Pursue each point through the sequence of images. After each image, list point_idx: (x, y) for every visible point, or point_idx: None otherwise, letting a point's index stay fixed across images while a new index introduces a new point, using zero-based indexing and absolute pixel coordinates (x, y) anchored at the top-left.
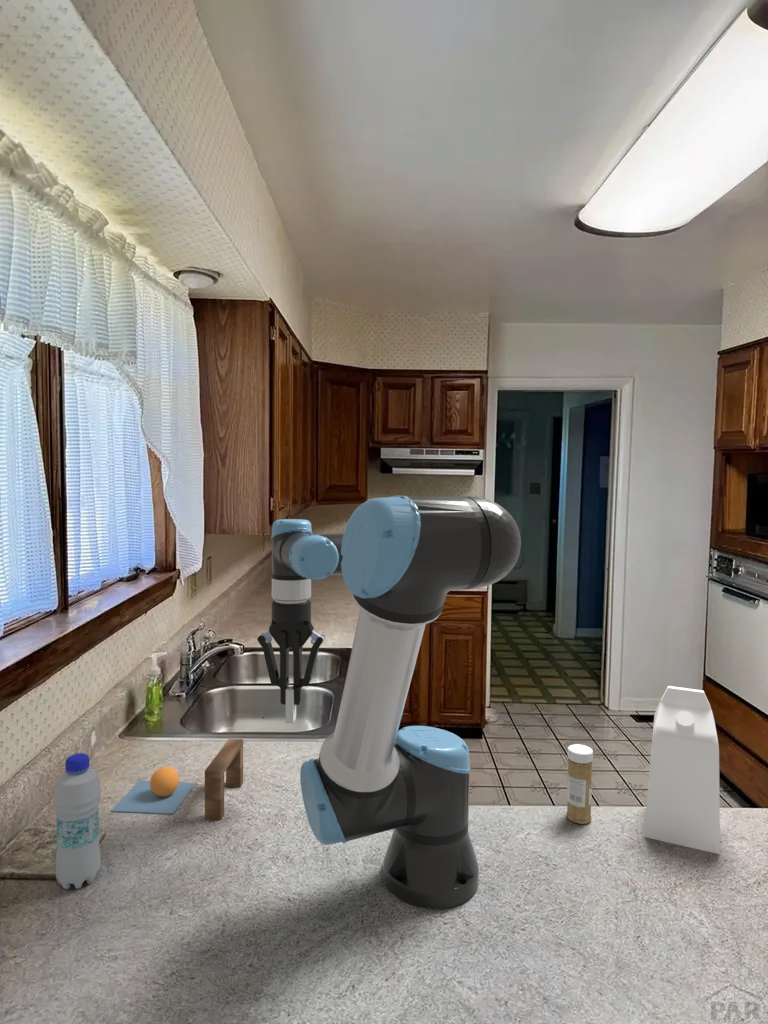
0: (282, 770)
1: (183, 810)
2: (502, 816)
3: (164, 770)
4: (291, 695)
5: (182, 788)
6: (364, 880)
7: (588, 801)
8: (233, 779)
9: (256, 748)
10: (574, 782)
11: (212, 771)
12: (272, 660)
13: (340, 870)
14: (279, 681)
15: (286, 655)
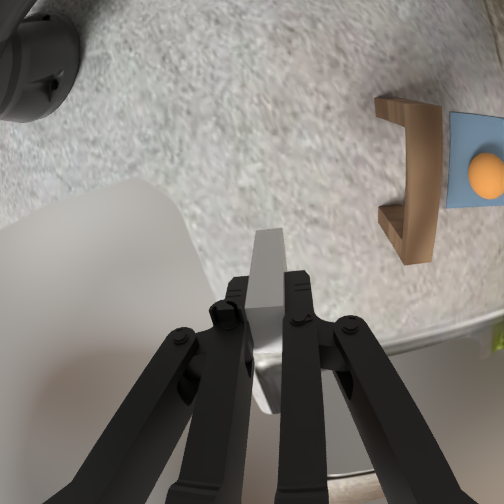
0: (324, 271)
1: None
2: (16, 215)
3: (499, 177)
4: (255, 289)
5: (460, 188)
6: (98, 21)
7: None
8: (394, 211)
9: (380, 322)
10: None
11: (426, 105)
12: (380, 435)
13: (131, 24)
14: (322, 339)
15: (278, 479)
